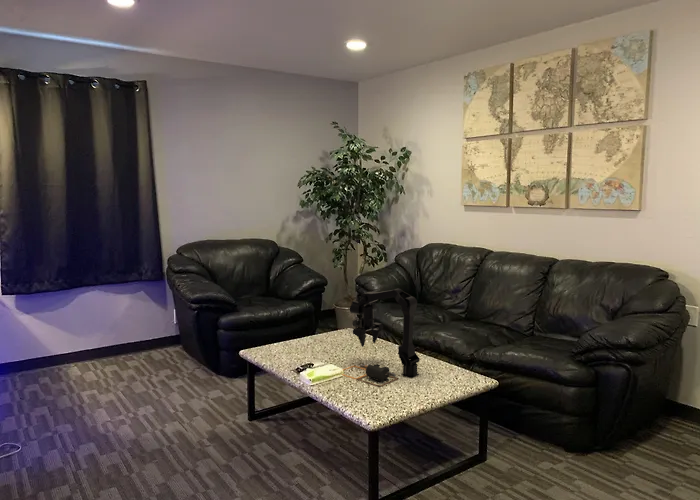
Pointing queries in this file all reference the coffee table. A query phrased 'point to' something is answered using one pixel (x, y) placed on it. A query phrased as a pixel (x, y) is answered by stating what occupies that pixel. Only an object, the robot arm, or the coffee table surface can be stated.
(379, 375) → the end cap
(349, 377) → the orange marked frame
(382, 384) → the walnut seat frame
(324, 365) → the coffee table surface
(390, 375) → the metal rail
